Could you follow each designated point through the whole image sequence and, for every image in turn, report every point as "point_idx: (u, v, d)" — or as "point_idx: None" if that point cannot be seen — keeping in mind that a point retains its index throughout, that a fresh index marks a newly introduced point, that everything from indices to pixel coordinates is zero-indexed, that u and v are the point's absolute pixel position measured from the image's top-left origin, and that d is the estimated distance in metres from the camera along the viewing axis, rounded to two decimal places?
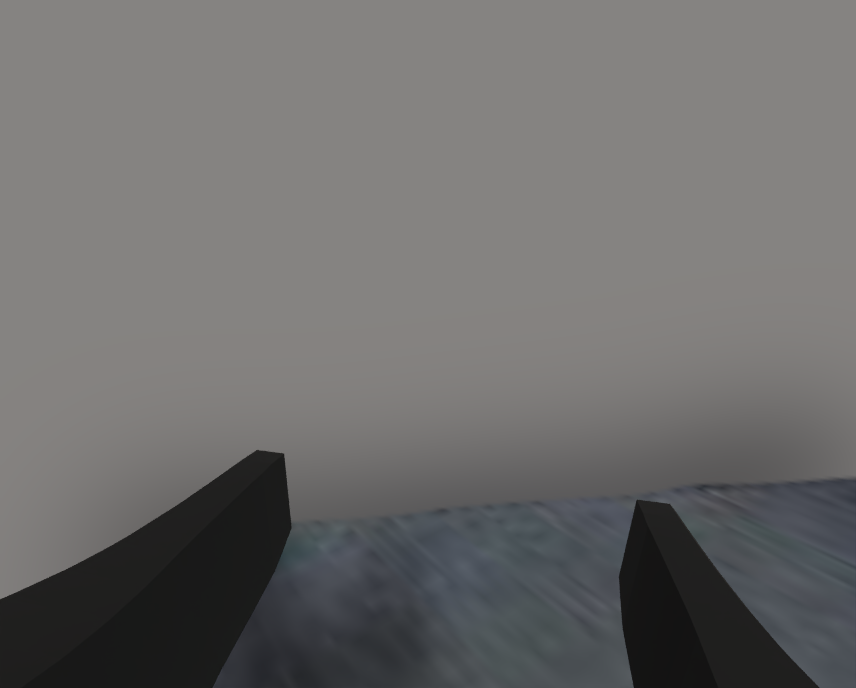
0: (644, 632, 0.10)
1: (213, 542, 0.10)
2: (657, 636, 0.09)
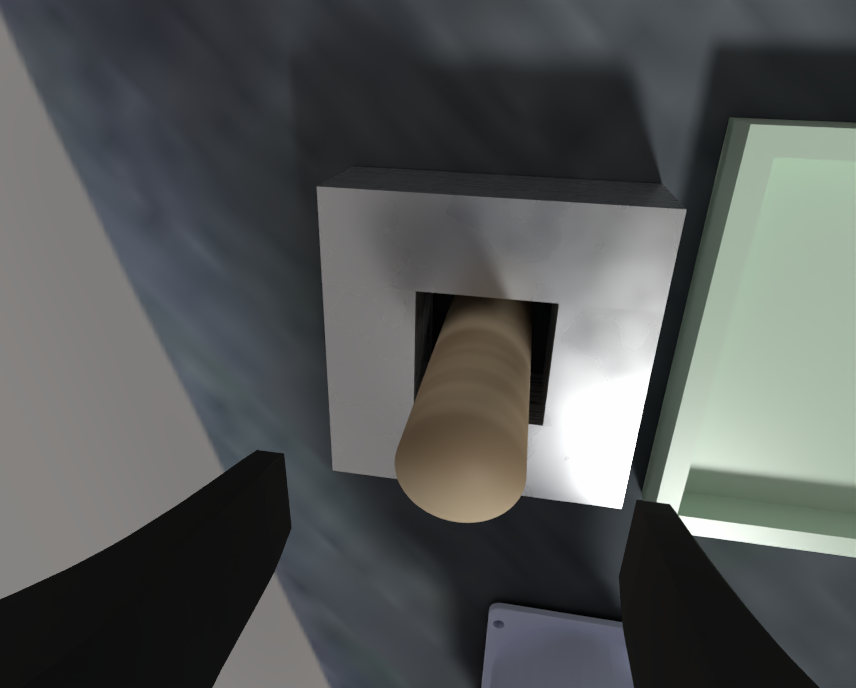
0: (644, 632, 0.10)
1: (213, 542, 0.10)
2: (657, 636, 0.09)
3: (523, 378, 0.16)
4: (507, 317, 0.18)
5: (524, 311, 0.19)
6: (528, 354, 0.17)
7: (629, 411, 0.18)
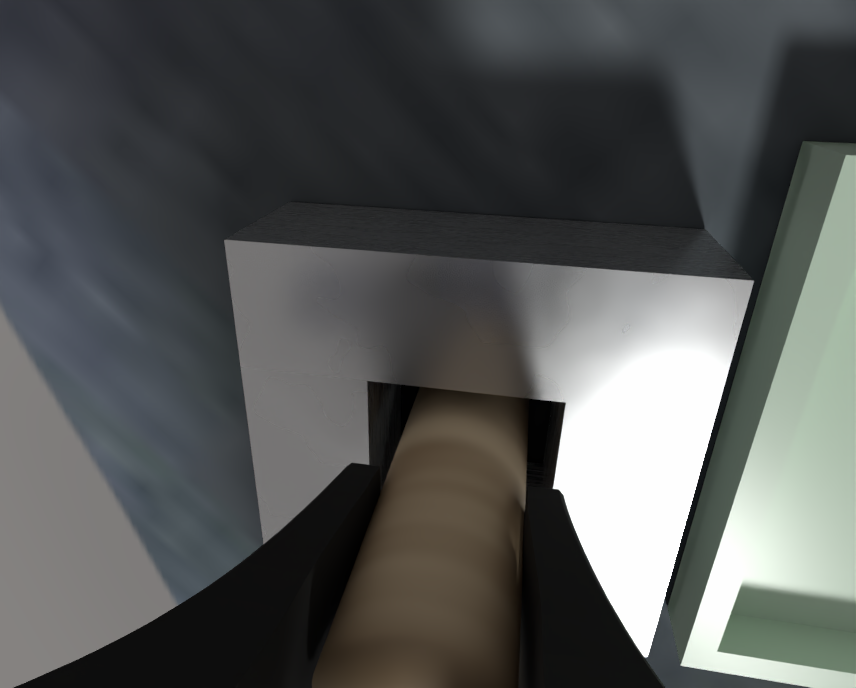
0: (522, 612, 0.10)
1: (331, 560, 0.10)
2: (527, 615, 0.10)
3: (515, 523, 0.11)
4: (494, 415, 0.13)
5: None
6: (523, 469, 0.13)
7: (661, 541, 0.13)
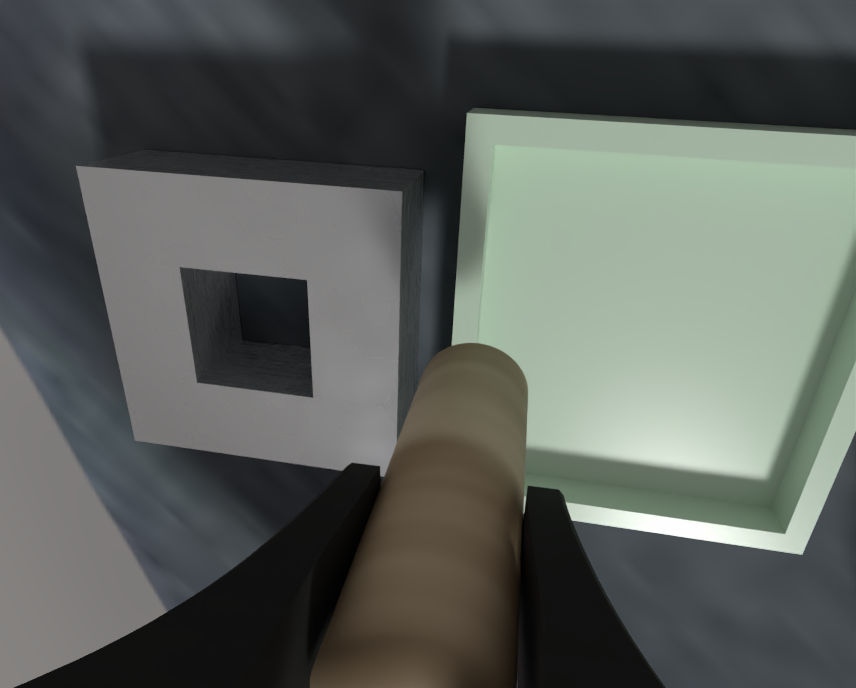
0: (523, 612, 0.10)
1: (331, 560, 0.10)
2: (527, 615, 0.10)
3: (513, 520, 0.11)
4: (493, 413, 0.13)
5: (516, 394, 0.15)
6: (521, 467, 0.13)
7: (386, 384, 0.19)
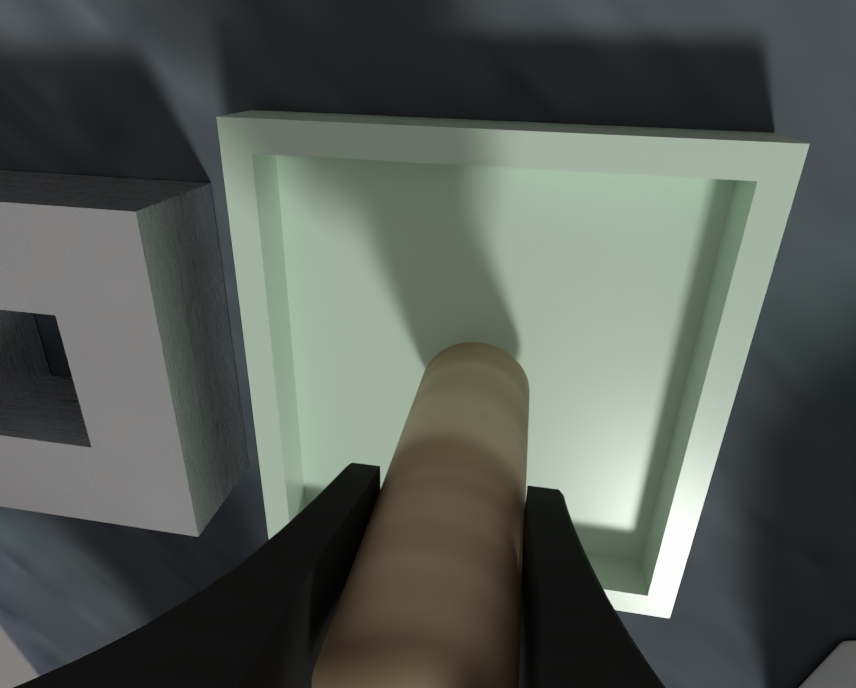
0: (522, 612, 0.10)
1: (331, 560, 0.10)
2: (527, 615, 0.10)
3: (515, 520, 0.11)
4: (494, 412, 0.13)
5: (518, 393, 0.15)
6: (523, 466, 0.13)
7: (165, 432, 0.17)
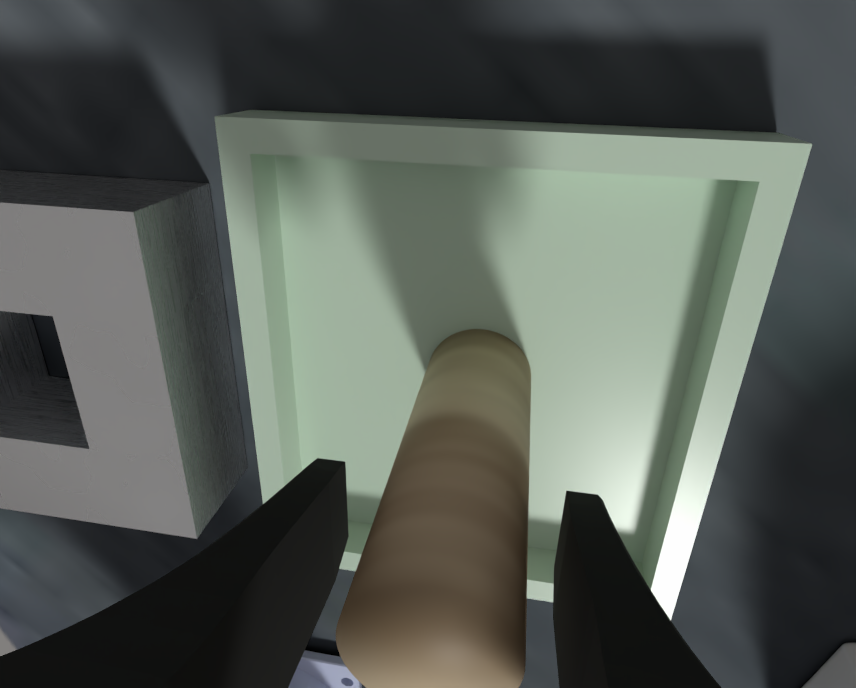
0: (565, 619, 0.10)
1: (288, 554, 0.10)
2: (573, 622, 0.10)
3: (520, 490, 0.12)
4: (499, 393, 0.14)
5: (521, 377, 0.15)
6: (526, 443, 0.13)
7: (164, 434, 0.16)
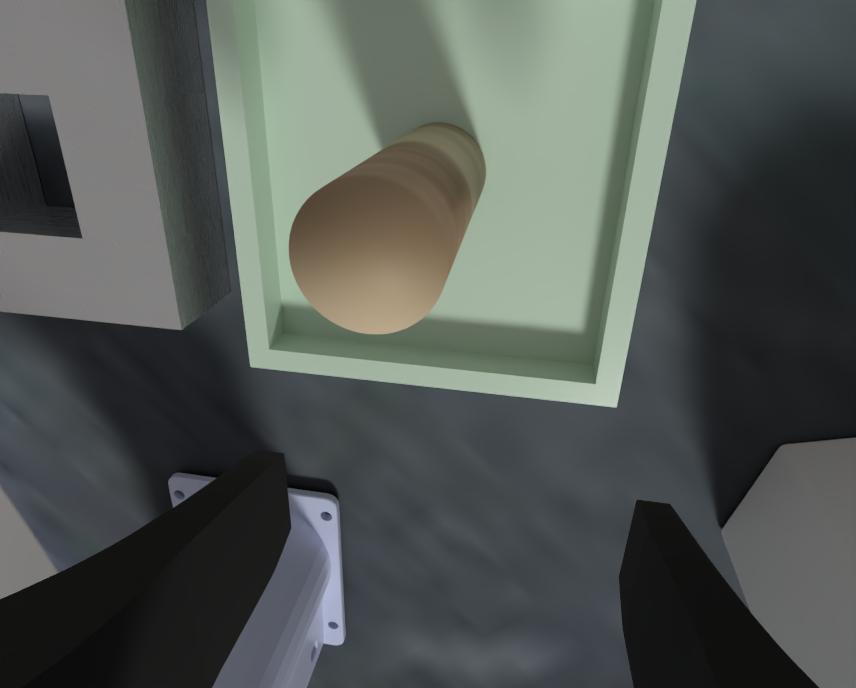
0: (644, 632, 0.10)
1: (213, 542, 0.10)
2: (657, 636, 0.09)
3: (458, 186, 0.13)
4: (448, 142, 0.15)
5: (472, 150, 0.17)
6: (471, 180, 0.15)
7: (150, 216, 0.18)
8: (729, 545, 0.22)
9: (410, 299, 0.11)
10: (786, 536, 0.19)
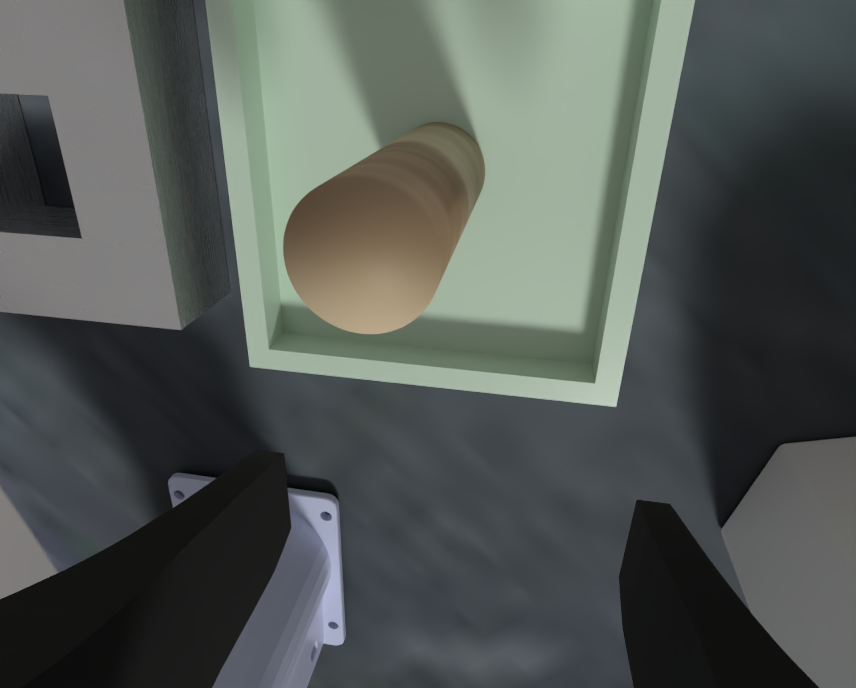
0: (644, 632, 0.10)
1: (213, 542, 0.10)
2: (657, 636, 0.09)
3: (454, 186, 0.13)
4: (445, 142, 0.15)
5: (471, 150, 0.17)
6: (468, 180, 0.15)
7: (149, 216, 0.18)
8: (729, 544, 0.22)
9: (404, 299, 0.11)
10: (786, 535, 0.19)
